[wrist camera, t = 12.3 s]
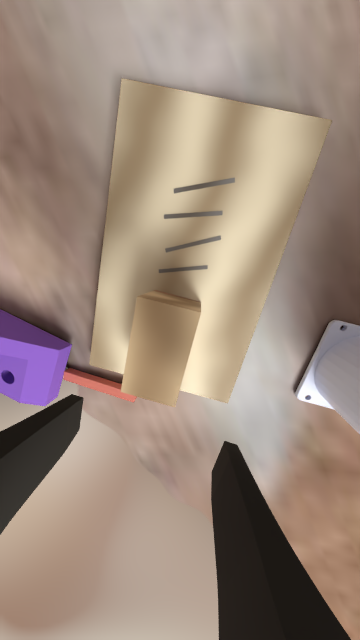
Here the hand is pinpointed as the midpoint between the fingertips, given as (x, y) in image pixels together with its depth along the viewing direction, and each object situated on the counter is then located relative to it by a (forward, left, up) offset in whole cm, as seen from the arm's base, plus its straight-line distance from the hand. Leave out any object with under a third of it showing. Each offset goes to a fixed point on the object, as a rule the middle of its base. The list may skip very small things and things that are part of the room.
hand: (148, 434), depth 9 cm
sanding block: (+1, -2, -8) cm, 9 cm away
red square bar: (+7, +5, -9) cm, 13 cm away
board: (+1, -8, -9) cm, 12 cm away
